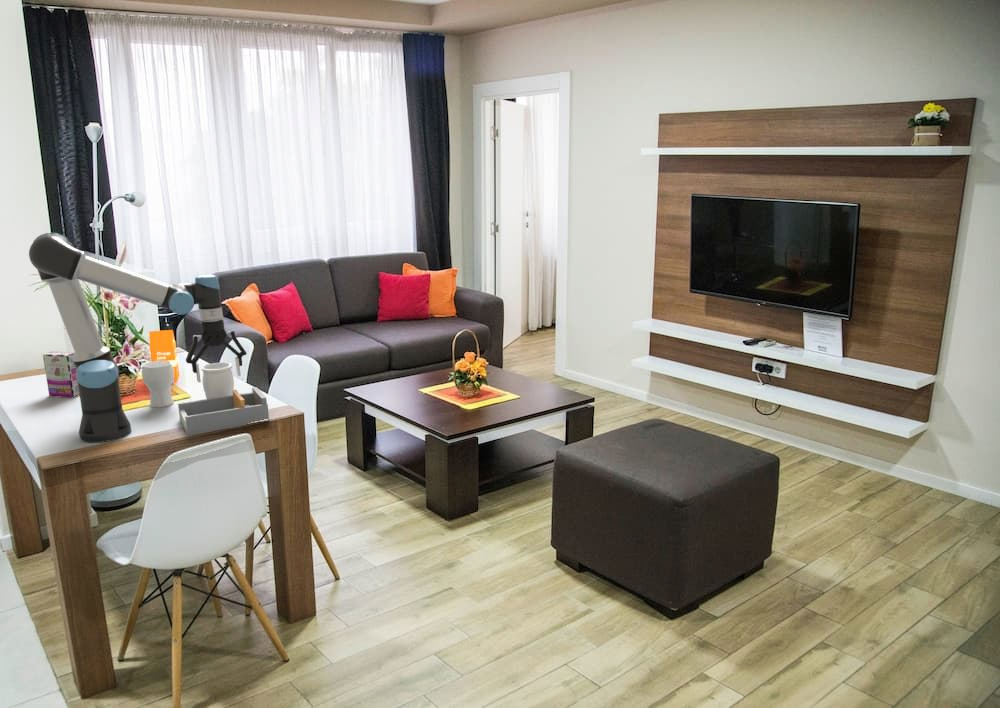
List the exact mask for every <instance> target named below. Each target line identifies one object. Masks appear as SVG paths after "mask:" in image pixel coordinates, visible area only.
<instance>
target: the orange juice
mask: <svg viewBox="0 0 1000 708" xmlns="http://www.w3.org/2000/svg"><path fill="white" fill-rule="evenodd" d="M148 334H149V339H148V340H149V353H150V352H151V354H150V362H154V361H170V362H171V364H172V366H173V369H174V379H173V382H178V380H179V378H180V370H179V369H180V367H179V363H178V362H179V360H178V353H177V345H176V344H177V343H176V340H175V335H174V331H173V329H168V330H167V329H165V330H152V331H151V330H150V331H149V333H148Z"/></svg>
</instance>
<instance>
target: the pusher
mask: <svg viewBox="0 0 1000 708" xmlns="http://www.w3.org/2000/svg"><path fill="white" fill-rule="evenodd" d="M232 392H233V402H234V408H241V407H247V406H249V405H245V401H244V399H243V398H242V396H241V395H240V394H241V393H239V391H238V390H237V389H234V390H232Z"/></svg>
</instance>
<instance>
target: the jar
mask: <svg viewBox="0 0 1000 708" xmlns="http://www.w3.org/2000/svg"><path fill="white" fill-rule="evenodd" d="M232 368H233V364H232V363H231V362H230V363H229V362H213V363H208V364H205V365H202V366H201V367H200V369H201V372H202V386H203V391H204V394H205V398H206V399H211V398H217V397H224V396H231V395H233V392H232V390H235V380H234V375H233V371H232Z"/></svg>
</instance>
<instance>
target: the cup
mask: <svg viewBox="0 0 1000 708" xmlns="http://www.w3.org/2000/svg"><path fill="white" fill-rule="evenodd" d="M141 376H142V381H143V383H144V384H145V386H146V388H148V390H149V395H150V399H149V402H150V403H149V406H150V407H151V408H164V407H168V406H171V405H173V404H174V400H173V397H172V393H171V391H172V385H173V382H174V381H173V379H174V369H173V366H172V364H171V362H170V361H154V362H151V361H149V362H146V363H144V364H143V365H142V368H141Z"/></svg>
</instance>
